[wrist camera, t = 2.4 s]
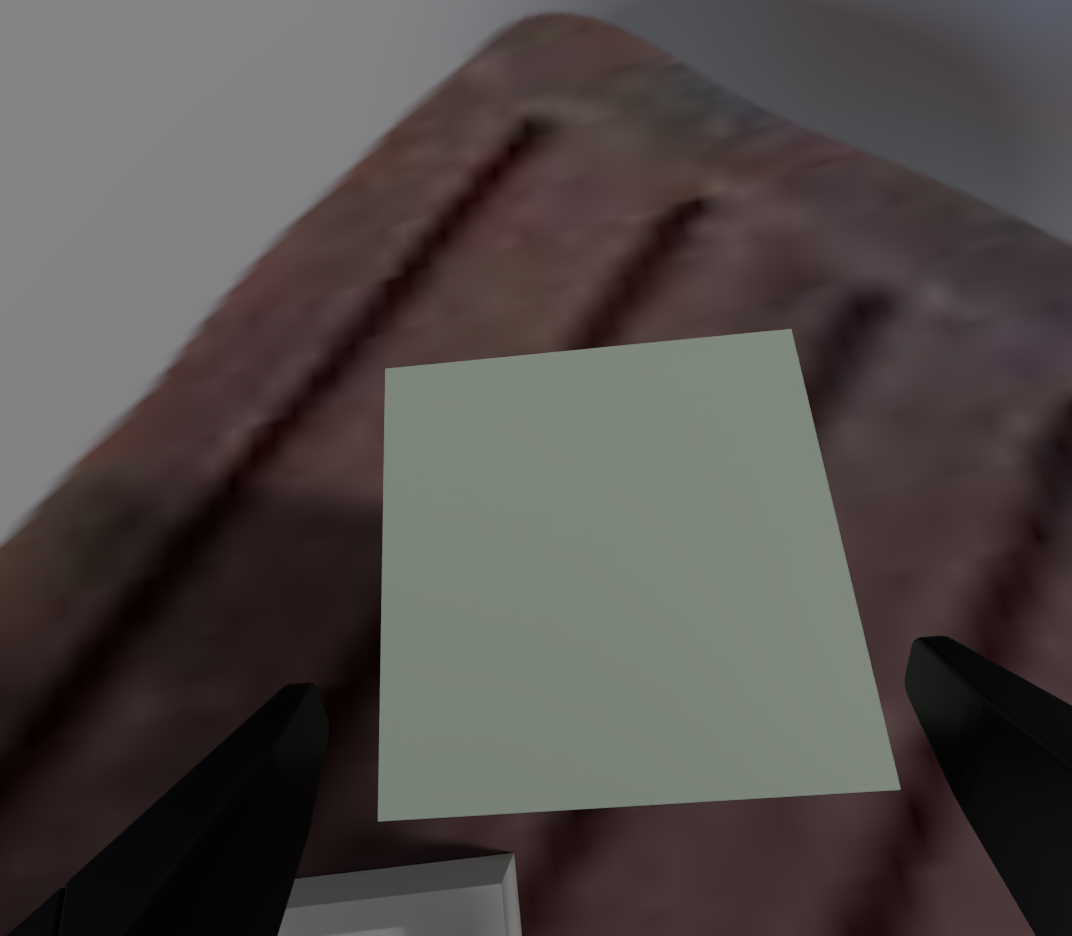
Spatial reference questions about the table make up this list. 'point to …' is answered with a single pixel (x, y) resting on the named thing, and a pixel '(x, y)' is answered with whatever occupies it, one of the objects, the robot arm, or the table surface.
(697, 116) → the table surface
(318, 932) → the tray
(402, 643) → the handle block
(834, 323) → the table surface
